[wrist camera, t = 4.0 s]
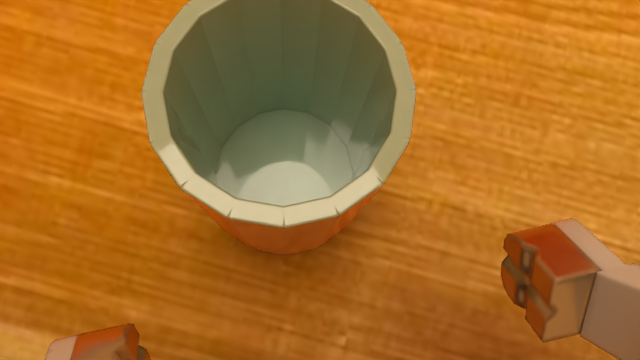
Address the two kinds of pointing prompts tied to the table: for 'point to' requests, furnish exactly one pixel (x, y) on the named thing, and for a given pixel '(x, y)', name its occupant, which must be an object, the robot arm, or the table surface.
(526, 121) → the table surface
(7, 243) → the table surface
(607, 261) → the robot arm
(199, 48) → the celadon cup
